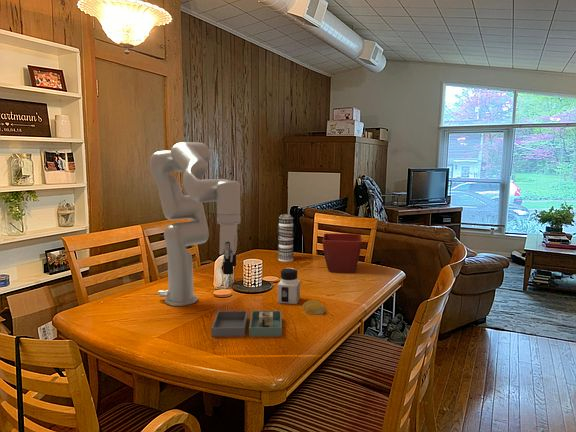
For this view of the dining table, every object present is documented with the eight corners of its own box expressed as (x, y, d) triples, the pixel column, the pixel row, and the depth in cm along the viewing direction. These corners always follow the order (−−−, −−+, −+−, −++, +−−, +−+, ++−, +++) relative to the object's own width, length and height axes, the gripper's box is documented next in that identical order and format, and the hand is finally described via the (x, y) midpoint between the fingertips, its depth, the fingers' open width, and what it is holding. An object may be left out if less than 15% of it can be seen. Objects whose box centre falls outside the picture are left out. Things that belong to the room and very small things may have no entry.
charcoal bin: (211, 338, 140) (211, 328, 139) (217, 320, 155) (217, 311, 154) (244, 338, 140) (244, 328, 140) (247, 320, 155) (247, 310, 154)
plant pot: (323, 263, 232) (324, 232, 230) (360, 265, 230) (361, 233, 227) (321, 273, 214) (322, 240, 211) (361, 275, 211) (362, 241, 209)
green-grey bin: (249, 338, 140) (249, 327, 140) (251, 320, 155) (251, 310, 154) (281, 338, 140) (281, 327, 140) (281, 320, 155) (281, 310, 155)
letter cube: (259, 329, 145) (259, 316, 145) (259, 324, 150) (259, 311, 149) (272, 329, 145) (272, 316, 145) (272, 324, 150) (272, 311, 149)
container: (296, 304, 171) (296, 272, 169) (277, 303, 173) (277, 271, 171) (300, 298, 179) (300, 267, 177) (281, 296, 180) (281, 266, 178)
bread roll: (308, 317, 158) (308, 307, 158) (299, 309, 167) (299, 299, 166) (329, 314, 161) (329, 304, 161) (319, 306, 169) (319, 296, 169)
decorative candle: (276, 261, 237) (276, 215, 233) (279, 257, 246) (279, 213, 242) (292, 262, 236) (292, 216, 232) (295, 258, 245) (295, 213, 241)
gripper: (220, 215, 150) (221, 263, 153) (213, 223, 133) (214, 277, 136) (242, 215, 151) (243, 263, 153) (238, 223, 134) (239, 277, 136)
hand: (229, 269), depth 144 cm, fingers open, 9 cm apart
